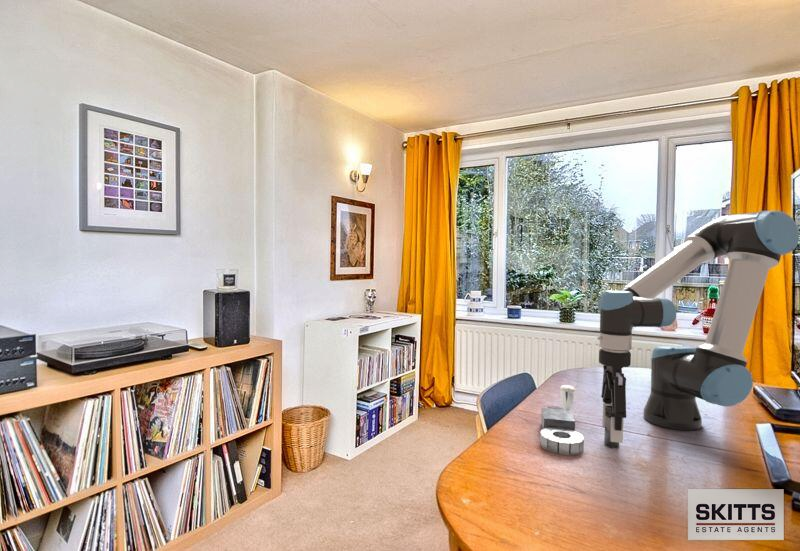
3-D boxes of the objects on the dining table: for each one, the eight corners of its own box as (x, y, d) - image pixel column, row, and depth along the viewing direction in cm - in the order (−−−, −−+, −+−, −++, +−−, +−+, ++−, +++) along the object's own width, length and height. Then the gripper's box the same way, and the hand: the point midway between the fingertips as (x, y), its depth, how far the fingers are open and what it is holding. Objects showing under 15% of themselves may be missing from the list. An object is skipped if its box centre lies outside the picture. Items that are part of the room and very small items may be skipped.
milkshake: (578, 417, 137) (579, 385, 137) (560, 415, 138) (561, 384, 138) (575, 412, 142) (576, 381, 141) (558, 411, 143) (559, 380, 142)
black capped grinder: (617, 443, 118) (619, 406, 118) (621, 449, 114) (622, 411, 114) (602, 441, 119) (603, 405, 118) (605, 447, 115) (606, 409, 115)
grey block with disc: (573, 424, 131) (573, 408, 131) (586, 457, 109) (586, 437, 109) (536, 421, 133) (536, 405, 133) (542, 452, 112) (542, 432, 112)
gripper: (591, 341, 127) (589, 418, 128) (608, 357, 106) (605, 449, 107) (620, 342, 125) (617, 421, 126) (643, 359, 104) (639, 453, 105)
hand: (612, 434), depth 116 cm, fingers open, 9 cm apart
